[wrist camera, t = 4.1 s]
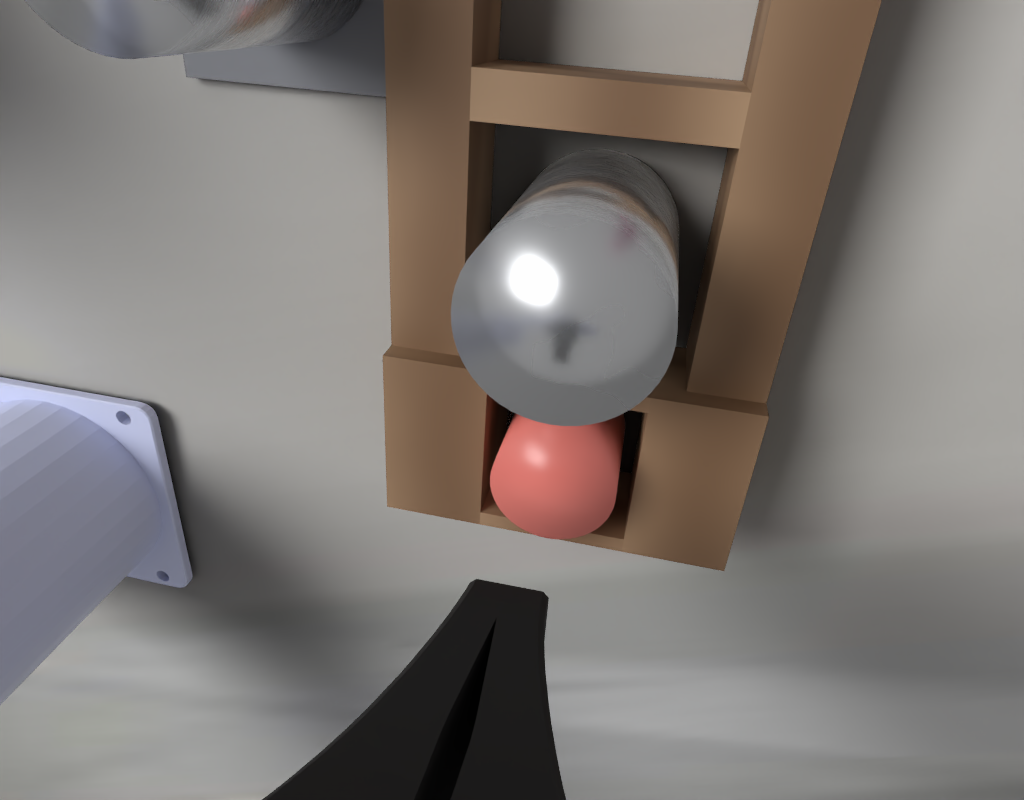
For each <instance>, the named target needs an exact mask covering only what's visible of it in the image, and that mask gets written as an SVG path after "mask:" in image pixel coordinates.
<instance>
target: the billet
mask: <svg viewBox="0 0 1024 800" xmlns="http://www.w3.org/2000/svg"><path fill="white" fill-rule="evenodd" d="M25 1H26V2H27V4H28V5H29V6H30V7H31V8H32V9H33V11H35V12H36V13H37V14H38V15H39V16H40V17H41V18H42V19H43V20H44V21H45V22H46V23H47V24H48V25H50V26H51V27H52V28H53V29H55V30H56V31H57V32H58V33H60V34H61V35H62V36H64V37H66V38H67V39H69V40H70V41H72V42H73V43H75V44H77V45H79V46H81V47H83V48H85V49H87V50H89V51H92V52H95V53H98V54H101V55H104V56H109V57H115V58H121V59H137V58H147V57H157V56H168V55H178V54H188V53H198V52H209V51H219V50H229V49H240V48H250V47H260V46H270V45H281V44H291V43H301V42H310V41H316V40H319V39H322V38H325V37H328V36H329V35H331V34H333V33H335V32H337V31H338V30H339V29H341V28H342V27H343V26H344V25H345V24H346V23H347V22H348V21H349V20H350V19H351V18H352V17H353V15H354V14H355V13H356V11H357V10H358V9H359V7H360V5H361V3H362V1H363V0H25Z"/></svg>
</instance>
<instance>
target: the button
mask: <svg viewBox="0 0 1024 800" xmlns="http://www.w3.org/2000/svg"><path fill="white" fill-rule="evenodd" d="M624 436H625V419H624V414H621V415H619V416H617V417H615V418H612V419H609V420H606V421H603V422H599V423H595V424H591V425H582V426H558V425H550V424H545V423H541V422H536V421H534V420H531V419H528V418H525V417H522V416H520V415H518V414H516V413H514V415H513V418H512V420H511V423H510V425H509V427H508V430H507V432H506V435H505V437H504V440H503V442H502V444H501V447H500V449H499V452H498V454H497V456H496V459H495V461H494V464H493V466H492V470H491V475H490V487H491V492H492V495H493V498H494V500H495V502H496V504H497V506H498V507H499V509H500V510H501V512H502V513H503V514H504V515H505V516H506V517H507V518H508V519H509V520H510V521H511V522H513V523H514V524H515V525H516V526H518V527H520V528H521V529H523V530H525V531H527V532H529V533H531V534H534V535H537V536H541V537H545V538H551V539H571V538H577V537H580V536H584V535H586V534H588V533H591V532H592V531H594V530H596V529H597V528H599V527H600V526H601V525H602V524H603V523H604V522H605V521H606V520H607V519H608V517H609V516H610V514H611V512H612V510H613V508H614V505H615V501H616V494H617V487H618V479H619V472H620V465H621V457H622V450H623V443H624Z"/></svg>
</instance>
